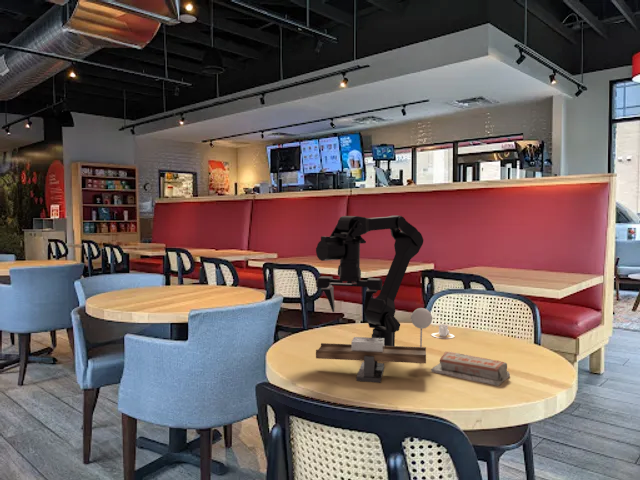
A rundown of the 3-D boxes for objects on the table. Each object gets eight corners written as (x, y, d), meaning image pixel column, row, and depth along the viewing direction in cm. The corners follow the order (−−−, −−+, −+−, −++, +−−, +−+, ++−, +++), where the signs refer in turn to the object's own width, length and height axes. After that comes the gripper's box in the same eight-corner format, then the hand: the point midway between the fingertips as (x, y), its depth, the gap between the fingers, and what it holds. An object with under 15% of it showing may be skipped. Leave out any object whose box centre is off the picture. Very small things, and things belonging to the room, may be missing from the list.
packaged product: (511, 359, 130) (499, 368, 122) (510, 377, 130) (498, 388, 122) (445, 347, 141) (430, 355, 133) (444, 364, 141) (430, 373, 133)
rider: (384, 349, 132) (384, 338, 132) (382, 354, 127) (382, 342, 127) (354, 348, 134) (354, 336, 134) (351, 353, 129) (351, 341, 129)
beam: (425, 355, 132) (425, 346, 132) (426, 364, 124) (426, 355, 124) (321, 351, 137) (321, 342, 137) (315, 359, 130) (315, 350, 129)
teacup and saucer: (441, 332, 179) (441, 321, 179) (460, 336, 173) (460, 325, 173) (426, 336, 173) (426, 324, 173) (446, 341, 167) (446, 329, 167)
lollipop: (432, 358, 146) (433, 307, 145) (430, 363, 140) (431, 310, 139) (411, 355, 148) (412, 305, 147) (408, 361, 142) (409, 309, 141)
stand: (384, 366, 137) (384, 345, 136) (380, 382, 124) (380, 358, 124) (362, 365, 138) (362, 343, 138) (356, 380, 125) (356, 357, 125)
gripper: (384, 257, 151) (383, 309, 152) (323, 256, 155) (323, 306, 155) (381, 261, 140) (380, 316, 141) (316, 259, 144) (315, 312, 144)
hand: (349, 312), depth 146 cm, fingers open, 9 cm apart
